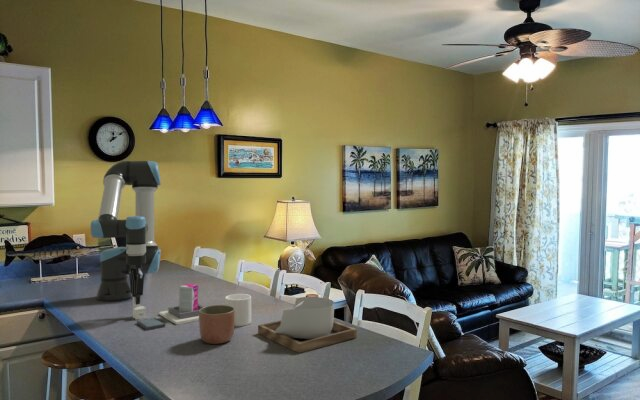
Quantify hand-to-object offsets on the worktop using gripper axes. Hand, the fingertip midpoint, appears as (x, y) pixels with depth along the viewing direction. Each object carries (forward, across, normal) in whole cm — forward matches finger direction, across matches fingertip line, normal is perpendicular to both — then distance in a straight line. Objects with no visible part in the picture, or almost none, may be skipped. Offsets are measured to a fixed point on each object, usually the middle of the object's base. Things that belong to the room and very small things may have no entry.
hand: (136, 311), depth 203 cm
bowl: (+2, +62, +40) cm, 74 cm away
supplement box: (+1, +12, +17) cm, 21 cm away
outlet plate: (+2, +12, +17) cm, 21 cm away
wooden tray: (+2, +62, +40) cm, 74 cm away
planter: (+2, +47, +12) cm, 49 cm away
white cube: (+2, +3, 0) cm, 3 cm away
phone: (+2, +16, 0) cm, 16 cm away
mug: (+2, +32, +28) cm, 43 cm away
